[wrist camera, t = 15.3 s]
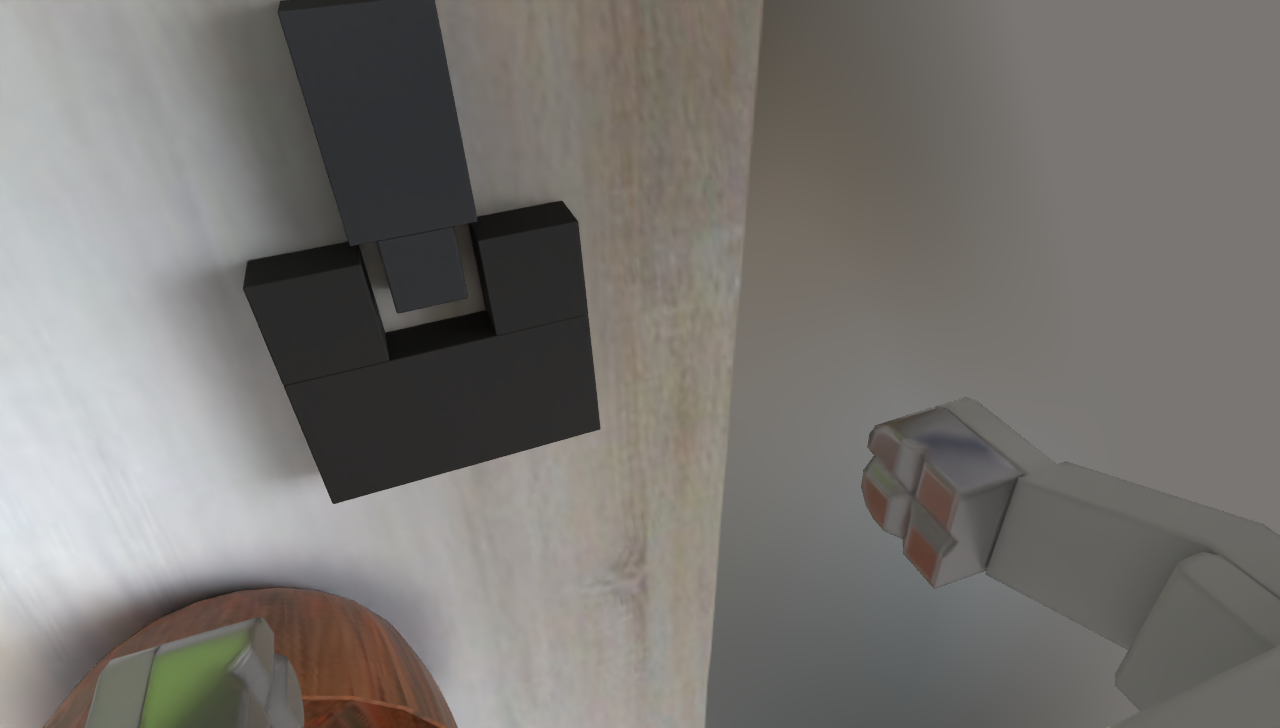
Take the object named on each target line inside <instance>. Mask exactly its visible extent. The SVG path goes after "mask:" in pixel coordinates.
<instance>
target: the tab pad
mask: <svg viewBox="0 0 1280 728" xmlns="http://www.w3.org/2000/svg"><path fill="white" fill-rule="evenodd" d="M278 15H279V18H280V22H281V25H282V28H283V31H284V35H285V38H286V41H287V44H288V47H289V51H290V54H291V57H292V60H293V64H294V67H295V70H296V73H297V77H298V80H299V83H300V86H301V90H302V93H303V96H304V99H305V102H306V106H307V109H308V112H309V115H310V119H311V122H312V125H313V128H314V132H315V135H316V138H317V141H318V145H319V148H320V151H321V154H322V157H323V161H324V164H325V167H326V170H327V174H328V177H329V180H330V183H331V187H332V190H333V193H334V196H335V200H336V203H337V206H338V209H339V212H340V216H341V219H342V222H343V225H344V229H345V232H346V235H347V238H348V242H349V245H350V246H354V245H359V244H364V243H369V242H374V241H377V245H378V248H379V252H380V255H381V259H382V262H383V266H384V269H385V273H386V276H387V280H388V283H389V287H390V290H391V294H392V297H393V301H394V304H395V308H396V311H397V313H402V312H407V311H412V310H416V309H421V308H425V307H430V306H434V305H439V304H443V303H448V302H452V301H457V300H461V299H466V298H468V293H467V289H466V284H465V280H464V275H463V270H462V266H461V261H460V256H459V252H458V247H457V243H456V238H455V233H454V229H453V226H457V225H462V224H467V223H472V222H477V215H476V210H475V205H474V200H473V195H472V190H471V184H470V179H469V174H468V169H467V164H466V159H465V154H464V148H463V143H462V138H461V133H460V128H459V123H458V117H457V112H456V107H455V102H454V97H453V92H452V86H451V81H450V76H449V71H448V66H447V61H446V56H445V50H444V45H443V40H442V35H441V30H440V25H439V19H438V14H437V9H436V4H435V0H284V1H280V4H279V8H278Z"/></svg>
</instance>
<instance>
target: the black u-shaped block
mask: <svg viewBox="0 0 1280 728" xmlns="http://www.w3.org/2000/svg"><path fill="white" fill-rule="evenodd" d="M469 228H470V233H471V238H472V243H473V248H474V253H475V258H476V263H477V268H478V273H479V278H480V283H481V288H482V293H483V298H484V302H485V307H486V311H483V312H478V313H474V314H469V315H465V316H461V317H456V318H452V319H447V320H443V321H438V322H434V323H430V324H425V325H421V326H416V327H412V328H407V329H403V330H399V331H394V332H390V333H385V331H384V327H383V324H382V321H381V317H380V314H379V311H378V308H377V304H376V301H375V298H374V294H373V291H372V288H371V284H370V281H369V278H368V274H367V271H366V268H365V264H364V261H363V258H362V254H361V251H360V248H359V245H354V246H350V245H349V242H347V243H342V244H336V245H331V246H326V247H321V248H316V249H310V250H305V251H300V252H295V253H289V254H284V255H279V256H274V257H269V258H263V259H258V260H253V261H248V262H247V268H246V274H245V280H244V286H243V290H244V292H245V295H246V297H247V299H248V302H249V304H250V307H251V309H252V311H253V314H254V316H255V319H256V321H257V323H258V326H259V328H260V331H261V333H262V335H263V338H264V340H265V342H266V345H267V347H268V350H269V352H270V354H271V357H272V359H273V362H274V364H275V366H276V369H277V371H278V374H279V376H280V378H281V381H282V383H283V385H284V388H285V390H286V393H287V395H288V398H289V400H290V402H291V405H292V407H293V410H294V412H295V414H296V417H297V419H298V422H299V424H300V426H301V429H302V431H303V434H304V436H305V438H306V441H307V443H308V446H309V448H310V450H311V453H312V455H313V458H314V460H315V462H316V465H317V467H318V469H319V472H320V474H321V477H322V479H323V481H324V484H325V486H326V489H327V491H328V493H329V496H330V498H331V501H332V503H333V504H335V503H339V502H343V501H346V500H350V499H353V498H357V497H360V496H364V495H368V494H371V493H375V492H378V491H382V490H385V489H389V488H393V487H396V486H400V485H403V484H407V483H410V482H414V481H418V480H421V479H425V478H428V477H432V476H435V475H439V474H442V473H446V472H450V471H453V470H457V469H460V468H464V467H467V466H471V465H475V464H478V463H482V462H485V461H489V460H492V459H496V458H500V457H503V456H507V455H510V454H514V453H517V452H521V451H525V450H528V449H532V448H535V447H539V446H542V445H546V444H550V443H553V442H557V441H560V440H564V439H567V438H571V437H574V436H578V435H582V434H585V433H589V432H592V431H596V430H599V429H600V420H599V411H598V401H597V392H596V383H595V374H594V365H593V355H592V346H591V337H590V328H589V319H588V308H587V299H586V290H585V281H584V272H583V263H582V253H581V244H580V235H579V226H578V221H577V219H576V218H575V217H574V216H573V214H572V213H571V212H570V210H569V209H568V208H567V206H566V205H565V204H564V203H563V201H560V202H554V203H549V204H544V205H539V206H534V207H528V208H523V209H518V210H513V211H507V212H502V213H497V214H492V215H487V216H481V217H477V222H472V223H469Z"/></svg>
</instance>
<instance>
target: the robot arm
mask: <svg viewBox="0 0 1280 728" xmlns="http://www.w3.org/2000/svg"><path fill="white" fill-rule="evenodd" d="M867 447H868V449H869V450H870V451H871V452H872V453H873V454H874V457H873V458H872V459H871V460H870V462H869V463H868V464H867V466H866V467H865V468H864V470H863V476H862V484H861V489H862V492H863V496H864V500H865V504H866V506H867V508H868V510H869V512H870V514H871V516H872V517H873V519H874V520H875V521H876V522H877V524H878V525H879V526H880V527H881V528H882V530H883V531H885V532H887V533H889V534H892V535H894V536H897V537H899V538H901V539H903V554H904V555H905V556H906V557H907V558H908V560H909V561H910V562H911V563H912V564H913V565H914V567H915V568H916V569H917V570H918V571H919V572H920V573H921V574H922V575H923V577H924V578H925V579H926V580H927V581H928V583H929V584H930V585H931V586H932V587H933V588H934V589H936V588H939V587H942V586H944V585H947V584H950V583H953V582H956V581H958V580H961V579H964V578H967V577H970V576H973V575H976V574H979V573H981V572H984V571H986V575H988V576H989V577H992V578H993V579H995V580H997V581H999V582H1001V583H1003V584H1005V585H1006V586H1008V587H1010V588H1012V589H1014V590H1016V591H1018V592H1020V593H1021V594H1023V595H1025V596H1027V597H1029V598H1031V599H1033V600H1035V601H1037V602H1039V603H1040V604H1043V605H1044V606H1046V607H1048V608H1050V609H1052V610H1053V611H1055V612H1057V613H1059V614H1061V615H1063V616H1065V617H1067V618H1069V619H1070V620H1072V621H1075V622H1076V623H1078V624H1080V625H1082V626H1084V627H1085V628H1087V629H1089V630H1091V631H1093V632H1095V633H1097V634H1099V635H1100V636H1102V637H1104V638H1106V639H1108V640H1110V641H1112V642H1114V643H1116V644H1117V645H1119V646H1121V647H1123V648H1125V649H1127V650H1128V652H1127V654H1126V656H1125V657H1124V659H1123V661H1122V662H1121V664H1120V666H1119V668H1118V669H1117V671H1116V673H1115V686H1116V687H1117V688H1118V689H1119V690H1120V691H1121V692H1122V693H1123V694H1124V695H1125V696H1126V697H1127V698H1128V699H1129V701H1131V703H1133V705H1134V706H1135V707H1136V708H1137V709H1138V710H1139V711H1140V712H1139V713H1136V714H1134V715H1132V716H1130V717H1128V718H1126V719H1124V720H1122V721H1120V722H1118V723H1115V724H1113V725H1111V726H1109V727H1107V728H1280V535H1278V534H1277V533H1275V532H1274V531H1272V530H1271V529H1269V528H1268V527H1267V526H1265V525H1263V524H1261V523H1258V522H1255V521H1252V520H1249V519H1246V518H1242V517H1239V516H1236V515H1233V514H1230V513H1227V512H1224V511H1220V510H1217V509H1214V508H1211V507H1208V506H1205V505H1201V504H1198V503H1195V502H1192V501H1189V500H1186V499H1182V498H1179V497H1176V496H1173V495H1170V494H1167V493H1164V492H1160V491H1157V490H1154V489H1151V488H1148V487H1145V486H1142V485H1139V484H1135V483H1132V482H1129V481H1126V480H1122V479H1120V478H1117V477H1113V476H1110V475H1107V474H1104V473H1100V472H1098V471H1094V470H1091V469H1088V468H1085V467H1082V466H1079V465H1075V464H1072V463H1069V462H1063V463H1059V464H1056V463H1055V462H1054V461H1052V460H1051V459H1050V458H1049V457H1047V456H1046V455H1045V454H1044V453H1042V452H1041V451H1040V450H1039V449H1037V448H1036V447H1035V446H1034V445H1032V444H1031V443H1030V442H1028V441H1027V440H1026V439H1025V438H1023V437H1022V436H1021V435H1020V434H1018V433H1017V432H1016V431H1015V430H1013V429H1012V428H1011V427H1010V426H1008V425H1007V424H1006V423H1004V422H1003V421H1002V420H1001V419H999V418H998V417H997V416H996V415H994V414H993V413H992V412H991V411H989V410H988V409H987V408H986V407H984V406H983V405H982V404H980V403H979V402H978V401H976V400H974V399H971V398H967V397H964V398H961V399H958V400H954V401H951V402H948V403H945V404H942V405H938V406H936V407H934V408H929V409H925V410H922V411H919V412H916V413H913V414H909V415H906V416H904V417H900V418H897V419H894V420H891V421H888V422H885V423H882V424H878V425H876V426H875V427H874V428H873V430H872V431H871V433H870V435H869V440H868V445H867ZM274 636H275V634H274V633H273V631H272V630H271V628H270V626H269V625H268V623H267V622H266V620H265V619H264V617H256V618H253V619H249V620H246V621H242V622H239V623H235V624H232V625H228V626H225V627H221V628H218V629H214V630H211V631H207V632H204V633H200V634H197V635H193V636H190V637H186V638H183V639H179V640H176V641H172V642H169V643H165V644H162V645H160V646H157V647H153V648H150V649H146V650H143V651H140V652H136V653H133V654H129V655H126V656H122V657H119V658H115V659H112V660H110V661H109V662H108V664H107V665H106V667H105V668H104V669H103V671H102V672H101V674H100V675H99V678H98V682H97V686H96V689H95V693H94V697H93V700H92V704H91V708H90V711H89V715H88V719H87V723H86V726H85V728H304V708H303V701H302V695H301V688H300V685H299V682H298V679H297V676H296V673H295V670H294V668H293V666H292V664H291V663H290V661H289V659H288V657H285V656H282V655H279V654H276V653H274Z"/></svg>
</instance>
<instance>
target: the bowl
mask: <svg viewBox="0 0 1280 728" xmlns="http://www.w3.org/2000/svg"><path fill="white" fill-rule="evenodd" d="M256 617H264V619H265V620H266V622H267V623H268V625H269V626H270V628H271V630H272V631H273V633H274V634H275V636H274V653H276V654H279V655H282V656H285V657H288V659H289V661H290V663H291V664H292V666H293V668H294V670H295V673H296V676H297V679H298V682H299V685H300V688H301V695H302V701H303V708H304V728H458V727H457V725H456V722H455V720H454V718H453V715H452V713H451V711H450V709H449V707H448V705H447V703H446V701H445V699H444V697H443V695H442V693H441V691H440V689H439V687H438V686H437V684H436V682H435V680H434V679H433V677H432V675H431V674H430V672H429V671H428V669H427V668H426V666H425V665H424V663H423V662H422V661H421V659H420V658H419V657H418V655H417V654H416V653H415V652H414V651H413V649H412V648H411V647H410V646H409V645H408V643H407V642H406V641H405V640H404V638H403V637H402V636H401V635H400V634H399V632H398V631H397V630H396V629H395V628H394V627H393V626H392V625H391V624H390V623H389V622H388V621H386V620H385V619H383V618H382V617H380V616H379V615H377V614H375V613H374V612H372V611H370V610H368V609H367V608H365V607H363V606H362V605H360V604H358V603H357V602H355V601H353V600H350V599H346V598H343V597H339V596H336V595H332V594H329V593H326V592H322V591H318V590H308V589H296V588H283V587H277V588H266V589H255V590H243V591H237V592H233V593H229V594H225V595H221V596H217V597H213V598H209V599H205V600H202V601H198V602H195V603H193V604H191V605H189V606H186V607H184V608H182V609H180V610H177V611H175V612H173V613H171V614H168V615H166V616H164V617H162V618H159V619H157V620H155V621H153V622H152V623H150V624H149V625H147V626H146V627H144V628H143V629H142V630H140V631H139V632H137V633H136V634H135V635H133V636H132V637H130V638H129V639H128V640H126V641H125V642H123V643H122V644H120V645H119V646H118V647H116V648H115V649H114V650H112V651H111V652H110V653H108V654H107V655H106V656H105V657H104V658H103V659H101V660H100V661H99V662H98V663H97V664H96V665H95V666H94V667H93V668H92V669H91V670H90V671H89V672H88V673H87V675H86V676H85V677H84V678H83V679H82V680H81V681H80V683H79V684H78V685H77V686H76V687H75V689H74V690H73V691H72V692H71V693H70V695H69V696H68V697H67V698H66V699H65V701H64V702H63V703H62V704H61V706H60V707H59V708H58V709H57V710H56V712H55V713H54V714H53V715H52V716H51V718H50V719H49V720H48V721H47V723H46V724H45V725H44V726H43V728H85V726H86V723H87V719H88V715H89V711H90V708H91V704H92V700H93V697H94V693H95V689H96V686H97V682H98V678H99V675H100V674H101V672H102V671H103V669H104V668H105V667H106V665H107V664H108V662H109V661H110V660H112V659H115V658H119V657H122V656H126V655H129V654H133V653H136V652H140V651H143V650H146V649H150V648H153V647H157V646H160V645H162V644H165V643H169V642H172V641H176V640H179V639H183V638H186V637H190V636H193V635H197V634H200V633H204V632H207V631H211V630H214V629H218V628H221V627H225V626H228V625H232V624H235V623H239V622H242V621H246V620H249V619H253V618H256Z"/></svg>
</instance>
